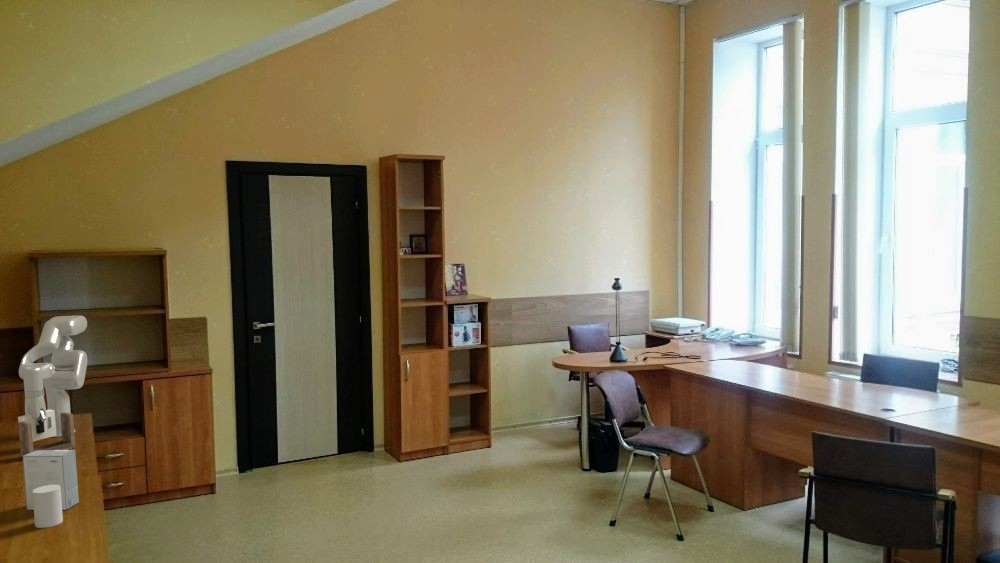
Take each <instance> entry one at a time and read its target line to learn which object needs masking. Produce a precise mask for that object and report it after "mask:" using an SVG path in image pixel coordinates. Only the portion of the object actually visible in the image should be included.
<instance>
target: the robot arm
mask: <svg viewBox="0 0 1000 563" xmlns="http://www.w3.org/2000/svg"><path fill="white" fill-rule="evenodd" d="M43 326H44V327H42V331H41V335H40V337H39V341H38V343H37V344H36V345H34V346H33V347H32V348H30V349H29V350H28V351H27V352H26V353H25V354H23V357H22V359H21V361H20V365H19V368H18V375H19V378H20V379H22V380H23V388H24V397H25V398H24V413H25V414H24V415H31V416H32V418H33V419H36V422H37V425H36V430H37V434H39V433H43V432H45V430H44V421H45V420H46V410H49V409H51V410H54V412H55V423H56V436H52V437H51V438H58V437H59V438H60V437H62V433H61V418H60V413H62V412H65V413H70V414H72V413H71V403H70V402H71V401H70V396H69V394H68V393H67V390H77V389H81V388H82V387H83V386H84V382H85V379H86V373H87V367H88V354H87V353H86V352H85V351H84V350H82V349H74V346H75V345H74V344H75V343H74V341H73V339H72V338H71V337H70V336H77V335H79V334H81V333H83V332H85V331H86V329H87V327H88V321H87V318H86V317H85V316H84V315H62V316H61V315H60V316H59V315H58V316H53V317H52V318H50V319H49V320H47V321H45V324H44V325H43ZM50 354H52V355H51V360H50V362H37V363H35V362H36V361H37V360H39V359H41V358H43V357H46V356H48V355H50ZM45 394H46V402H45V397H44V396H45ZM46 403H47V405H46ZM46 406H47V407H46ZM40 416H41V418H39V417H40ZM39 419H41V420H40V421H39ZM75 433H76V429H75V428H74V434H75Z"/></svg>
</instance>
